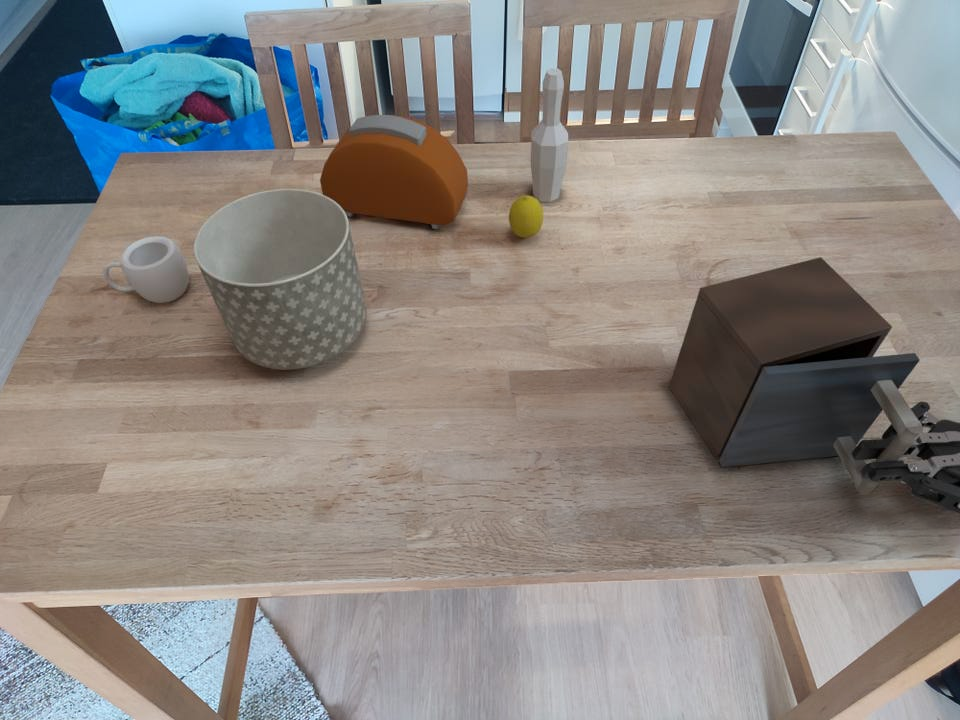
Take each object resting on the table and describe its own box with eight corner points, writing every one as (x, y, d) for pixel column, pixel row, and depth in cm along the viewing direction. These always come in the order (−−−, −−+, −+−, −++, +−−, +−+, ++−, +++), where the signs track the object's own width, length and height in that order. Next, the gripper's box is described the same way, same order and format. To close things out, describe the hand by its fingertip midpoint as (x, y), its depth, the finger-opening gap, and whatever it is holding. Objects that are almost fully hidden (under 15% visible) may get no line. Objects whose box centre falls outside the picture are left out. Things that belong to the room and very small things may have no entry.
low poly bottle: (523, 187, 118) (527, 65, 101) (556, 181, 119) (566, 59, 102) (534, 207, 114) (541, 84, 97) (569, 201, 115) (581, 78, 98)
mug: (199, 270, 105) (181, 230, 99) (191, 307, 99) (171, 267, 93) (122, 277, 104) (99, 238, 98) (109, 315, 99) (84, 276, 93)
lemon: (514, 224, 111) (515, 183, 105) (545, 230, 110) (548, 189, 104) (504, 243, 108) (504, 203, 102) (536, 250, 106) (539, 210, 100)
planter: (221, 384, 89) (172, 285, 76) (254, 288, 102) (216, 188, 88) (361, 383, 89) (336, 284, 75) (376, 287, 101) (358, 187, 88)
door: (877, 504, 76) (958, 413, 62) (741, 518, 75) (795, 430, 61) (845, 448, 81) (915, 352, 67) (718, 460, 80) (763, 366, 67)
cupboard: (827, 425, 83) (892, 326, 70) (716, 459, 80) (761, 364, 67) (772, 357, 91) (821, 256, 77) (668, 386, 88) (700, 287, 74)
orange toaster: (470, 203, 115) (466, 113, 102) (456, 235, 109) (451, 144, 97) (345, 186, 119) (327, 98, 107) (325, 215, 114) (304, 126, 101)
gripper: (1005, 379, 71) (847, 388, 71) (1087, 492, 62) (908, 503, 62) (967, 419, 77) (821, 427, 77) (1038, 528, 68) (873, 538, 68)
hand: (860, 461), depth 69 cm, fingers closed, pressing on door
